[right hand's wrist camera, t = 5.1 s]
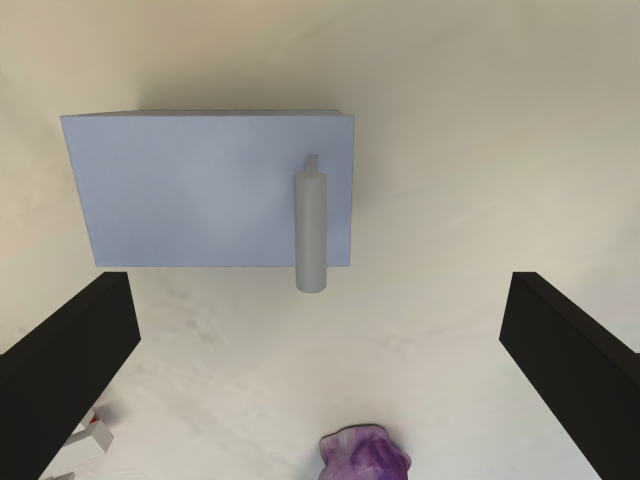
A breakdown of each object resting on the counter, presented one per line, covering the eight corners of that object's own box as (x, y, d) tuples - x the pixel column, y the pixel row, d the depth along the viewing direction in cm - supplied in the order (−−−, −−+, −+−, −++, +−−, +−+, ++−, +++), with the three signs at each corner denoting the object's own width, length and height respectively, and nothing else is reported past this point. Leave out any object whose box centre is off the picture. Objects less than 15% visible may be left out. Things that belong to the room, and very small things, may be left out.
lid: (352, 114, 23) (370, 124, 15) (348, 260, 27) (360, 331, 19) (70, 115, 23) (-65, 125, 15) (104, 260, 27) (10, 332, 19)
